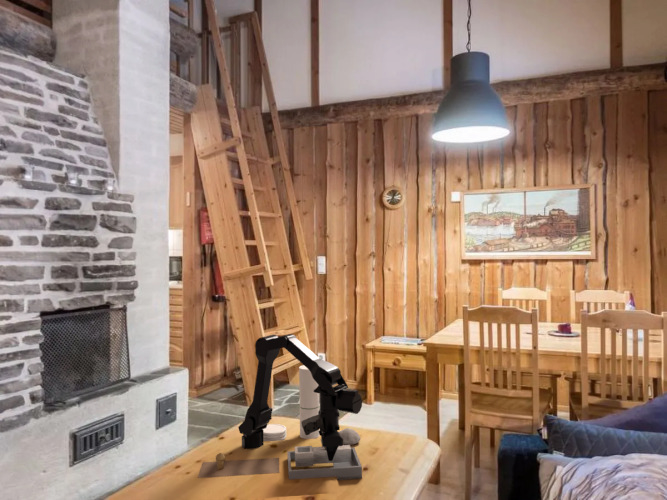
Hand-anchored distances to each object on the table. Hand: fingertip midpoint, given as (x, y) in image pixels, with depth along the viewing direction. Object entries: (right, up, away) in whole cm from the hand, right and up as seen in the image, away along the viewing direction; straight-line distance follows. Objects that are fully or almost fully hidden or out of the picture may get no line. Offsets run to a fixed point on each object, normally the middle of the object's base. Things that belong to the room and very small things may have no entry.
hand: (329, 458), depth 158 cm
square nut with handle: (-2, -1, 0) cm, 2 cm away
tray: (-2, -4, 0) cm, 4 cm away
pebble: (+6, -4, +22) cm, 23 cm away
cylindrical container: (-7, -4, +29) cm, 30 cm away
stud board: (-28, -4, 0) cm, 28 cm away
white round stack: (-21, -4, +27) cm, 35 cm away
